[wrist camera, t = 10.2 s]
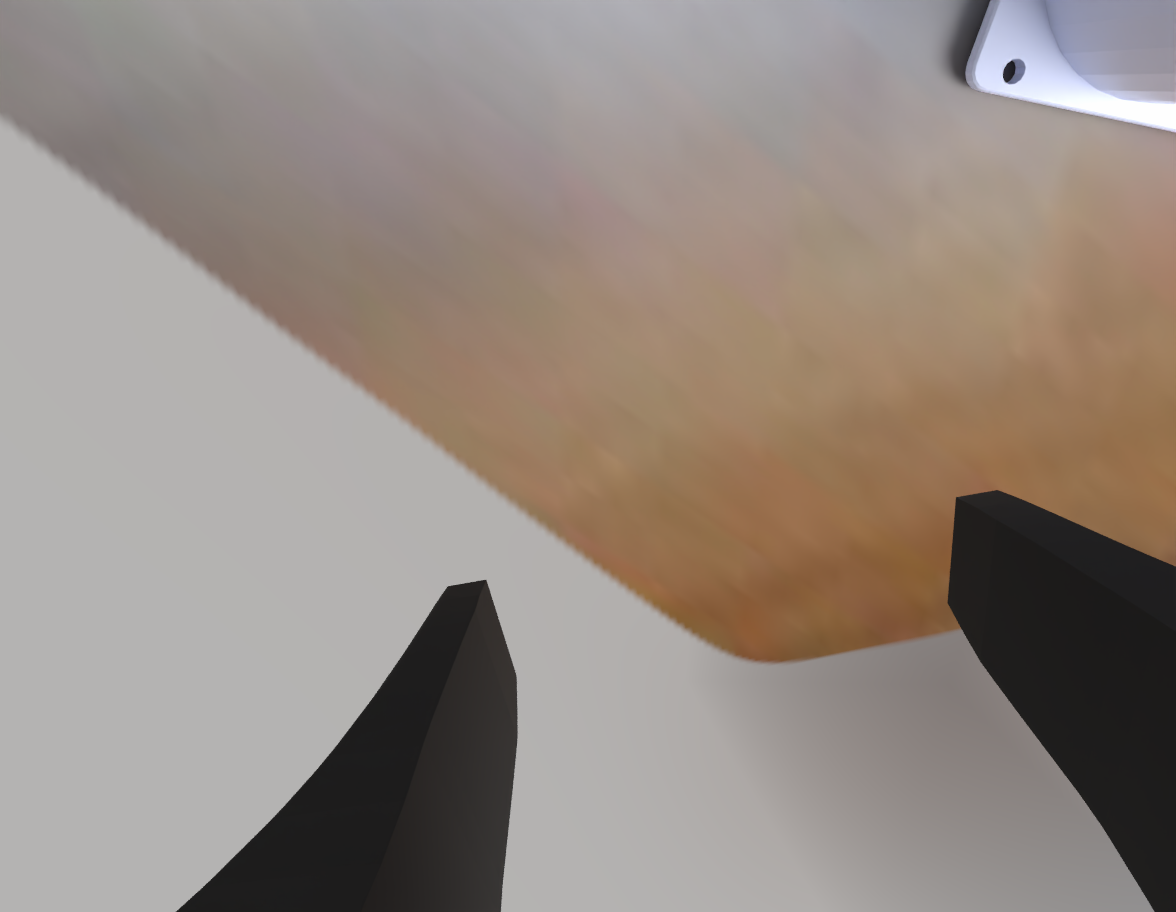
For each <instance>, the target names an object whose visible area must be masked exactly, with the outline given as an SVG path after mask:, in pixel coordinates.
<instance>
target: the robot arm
mask: <svg viewBox="0 0 1176 912" xmlns="http://www.w3.org/2000/svg"><path fill="white" fill-rule="evenodd" d="M1011 60H1012V61H1013V62H1014V64H1015V66H1016V69H1015V74H1014V76H1013V77H1012V79H1011V80H1010V81H1009V82H1007V83H1006V82H1004V79H1003V70H1004V68H1005V66H1006V65H1007V63H1008V62H1010V61H1011ZM965 74H966V81H967V83H968V84H969V86H970V87H971V88H972V89H975V90H977V91H980V92H985V93H989V94H994V95H999V96H1004V97H1008V98H1013V99H1018V100H1023V101H1028V102H1032V103H1037V104H1042V105H1047V106H1051V107H1056V108H1061V109H1066V110H1070V111H1075V112H1080V113H1085V114H1089V115H1094V116H1099V117H1104V118H1109V119H1113V120H1118V121H1123V122H1128V123H1132V124H1137V125H1142V126H1147V127H1151V128H1156V129H1161V130H1166V131H1170V132H1175V133H1176V0H990V3H989V6H988V8H987V11H986V14H985V17H984V19H983V22H982V25H981V27H980V30H979V33H978V36H977V38H976V41H975V44H974V46H973V49H972V52H971V54H970V57H969V60H968V63H967V67H966V72H965ZM948 604H949V606H950V608H951V610H952V612H953V614H954V616H955V617H956V619H957V621H958V623H959V625H960V627H961V629H962V630H963V632H964V634H965V636H966V638H967V639H968V641H969V643H970V644H971V646H972V648H973V649H974V651H975V653H976V655H977V656H978V658H979V660H980V662H981V663H982V664H983V666H984V667H985V668H986V670H987V671H988V673H989V674H990V675H991V677H992V678H993V679H994V681H995V682H996V684H997V685H998V686H999V688H1000V689H1001V690H1002V692H1003V693H1004V694H1005V696H1006V697H1007V698H1008V700H1009V701H1010V702H1011V704H1012V705H1013V707H1014V708H1015V709H1016V711H1017V712H1018V713H1019V714H1020V716H1021V717H1022V718H1023V720H1024V721H1025V722H1026V724H1027V725H1028V726H1029V728H1030V729H1031V730H1032V732H1033V733H1034V734H1035V736H1036V737H1037V738H1038V740H1039V741H1040V742H1041V744H1042V745H1043V746H1044V748H1045V749H1046V750H1047V752H1048V753H1049V754H1050V756H1051V757H1052V758H1053V759H1054V761H1055V762H1056V764H1057V765H1058V766H1059V768H1060V769H1061V770H1062V771H1063V773H1064V774H1065V775H1066V777H1067V778H1068V779H1069V781H1070V782H1071V783H1072V785H1073V786H1074V787H1075V788H1076V790H1077V791H1078V793H1079V794H1080V795H1081V797H1082V798H1083V800H1084V801H1085V803H1086V804H1087V805H1088V807H1089V808H1090V810H1091V811H1092V813H1093V814H1094V815H1095V817H1096V818H1097V820H1098V821H1099V822H1100V824H1101V825H1102V827H1103V828H1104V830H1105V832H1106V833H1107V835H1108V836H1109V838H1110V840H1111V841H1112V843H1113V844H1114V846H1115V848H1116V849H1117V851H1118V853H1119V854H1120V856H1121V857H1122V859H1123V861H1124V862H1125V864H1126V866H1127V867H1128V869H1129V870H1130V872H1131V874H1132V875H1133V877H1134V879H1135V880H1136V882H1137V883H1138V885H1139V887H1140V888H1141V890H1142V892H1143V893H1144V895H1145V896H1146V898H1147V900H1148V901H1149V903H1150V905H1151V906H1152V908H1153V910H1154V911H1155V912H1176V567H1175V566H1173V565H1171V564H1168V563H1166V562H1163V561H1161V560H1159V559H1156V558H1154V557H1152V556H1149V555H1147V554H1144V553H1142V552H1140V551H1138V550H1135V549H1133V548H1131V547H1128V546H1126V545H1124V544H1121V543H1119V542H1117V541H1115V540H1112V539H1110V538H1108V537H1106V536H1103V535H1101V534H1099V533H1097V532H1094V531H1092V530H1090V529H1088V528H1085V527H1083V526H1081V525H1079V524H1076V523H1074V522H1072V521H1070V520H1067V519H1065V518H1063V517H1061V516H1058V515H1056V514H1054V513H1052V512H1049V511H1047V510H1045V509H1043V508H1040V507H1038V506H1036V505H1033V504H1031V503H1029V502H1026V501H1024V500H1022V499H1019V498H1017V497H1014V496H1012V495H1009V494H1006V493H1004V492H1001V491H998V490H996V491H990V492H984V493H978V494H973V495H967V496H961V497H956V505H955V518H954V530H953V543H952V555H951V568H950V580H949V593H948ZM516 748H517V679H516V673H515V670H514V666H513V663H512V660H511V657H510V654H509V651H508V647H507V644H506V641H505V638H504V635H503V632H502V628H501V625H500V622H499V619H498V616H497V613H496V609H495V606H494V603H493V600H492V597H491V594H490V590H489V587H488V584H487V581H486V580H482V581H476V582H470V583H465V584H459V585H453V586H448V587H447V588H446V590H445V591H444V593H443V594H442V595H441V597H440V598H439V600H438V601H437V603H436V604H435V606H434V607H433V609H432V611H431V612H430V614H429V616H428V617H427V618H426V620H425V622H424V623H423V625H422V626H421V628H420V629H419V631H418V632H417V634H416V635H415V637H414V639H413V640H412V642H411V643H410V645H409V646H408V648H407V649H406V651H405V652H404V654H403V655H402V657H401V658H400V660H399V661H398V663H397V664H396V665H395V667H394V668H393V670H392V671H391V673H390V674H389V676H388V677H387V678H386V680H385V681H384V683H383V684H382V686H381V687H380V689H379V690H378V691H377V693H376V694H375V696H374V697H373V698H372V700H371V701H370V703H369V704H368V705H367V707H366V708H365V709H364V711H363V712H362V713H361V714H360V716H359V717H358V718H357V720H356V721H355V722H354V724H353V725H352V726H351V728H350V729H349V730H348V731H347V733H346V734H345V735H344V737H343V738H342V739H341V741H340V742H339V743H338V745H337V746H336V747H335V749H334V750H333V751H332V752H331V753H330V754H329V756H328V757H327V758H326V759H325V761H324V762H323V763H322V764H321V765H320V767H319V768H318V769H317V770H316V771H315V772H314V774H313V775H312V776H311V777H310V778H309V779H308V780H307V781H306V783H305V784H304V785H303V786H302V787H301V788H300V789H299V791H298V792H297V793H296V794H295V795H294V796H293V797H292V798H291V799H290V800H289V801H288V803H287V804H286V805H285V806H284V807H283V808H282V809H281V810H280V811H279V812H278V813H277V815H275V817H274V818H273V819H272V820H271V821H270V822H269V823H268V824H267V825H266V826H265V827H264V828H263V829H262V830H261V831H260V832H259V833H258V834H257V835H256V836H255V837H254V838H253V839H252V840H251V841H250V842H249V843H248V844H247V845H246V846H245V847H244V848H243V849H242V850H241V851H240V852H239V853H238V854H236V855H235V856H234V857H233V858H232V859H231V860H230V861H229V862H228V863H227V864H226V865H225V866H224V868H223V869H221V870H220V871H219V872H218V873H217V874H216V876H214V877H213V878H212V879H211V880H210V881H209V882H208V883H207V884H206V885H205V886H204V887H203V888H202V889H201V890H200V891H198V892H197V893H196V894H195V895H194V896H193V897H192V898H191V899H190V900H188V901H187V902H186V903H185V904H184V905H183V906H182V907H181V908H180V909H179V910H177V911H176V912H501V899H502V885H503V874H504V866H505V856H506V845H507V837H508V827H509V818H510V808H511V798H512V789H513V779H514V769H515V758H516Z"/></svg>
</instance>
